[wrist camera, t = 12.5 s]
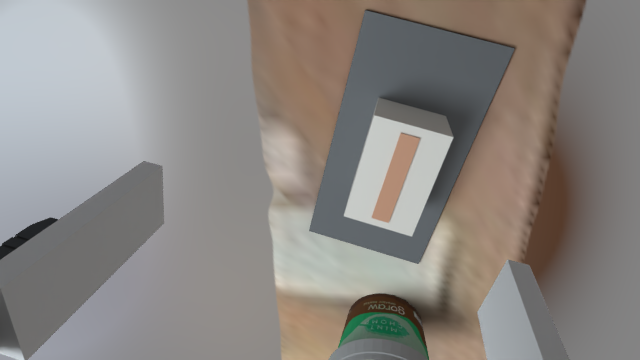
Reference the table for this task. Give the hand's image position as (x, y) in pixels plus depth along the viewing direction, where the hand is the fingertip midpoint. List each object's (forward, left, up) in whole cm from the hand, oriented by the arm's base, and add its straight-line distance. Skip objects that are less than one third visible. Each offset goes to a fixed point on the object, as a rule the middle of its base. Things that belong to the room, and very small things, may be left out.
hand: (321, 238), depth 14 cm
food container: (+25, +9, -25) cm, 36 cm away
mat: (+5, +4, -25) cm, 25 cm away
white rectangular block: (+5, +4, -24) cm, 25 cm away
